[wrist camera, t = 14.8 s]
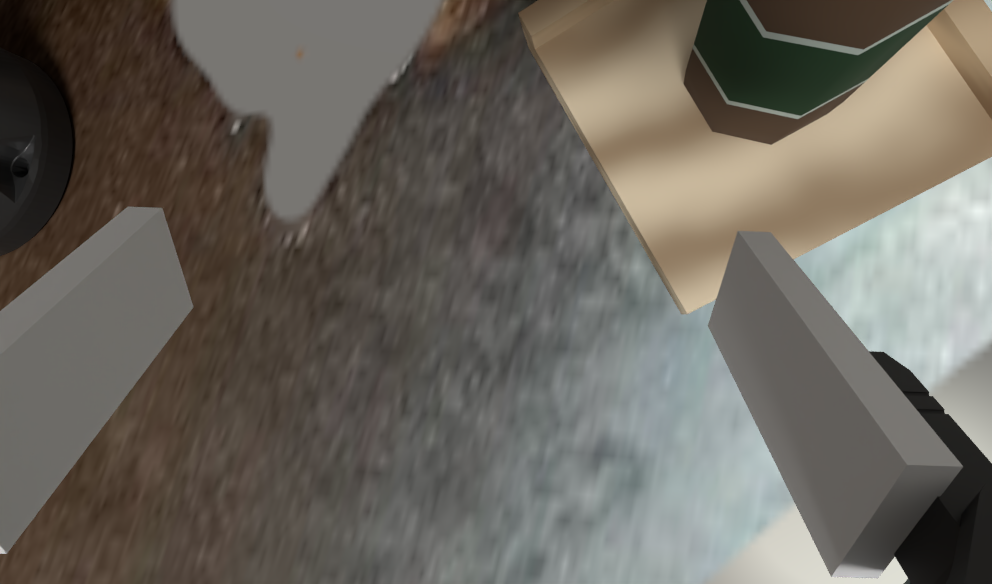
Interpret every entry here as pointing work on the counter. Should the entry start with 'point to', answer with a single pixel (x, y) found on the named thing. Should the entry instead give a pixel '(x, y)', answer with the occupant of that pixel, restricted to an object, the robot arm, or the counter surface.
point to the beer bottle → (792, 58)
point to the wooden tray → (749, 164)
